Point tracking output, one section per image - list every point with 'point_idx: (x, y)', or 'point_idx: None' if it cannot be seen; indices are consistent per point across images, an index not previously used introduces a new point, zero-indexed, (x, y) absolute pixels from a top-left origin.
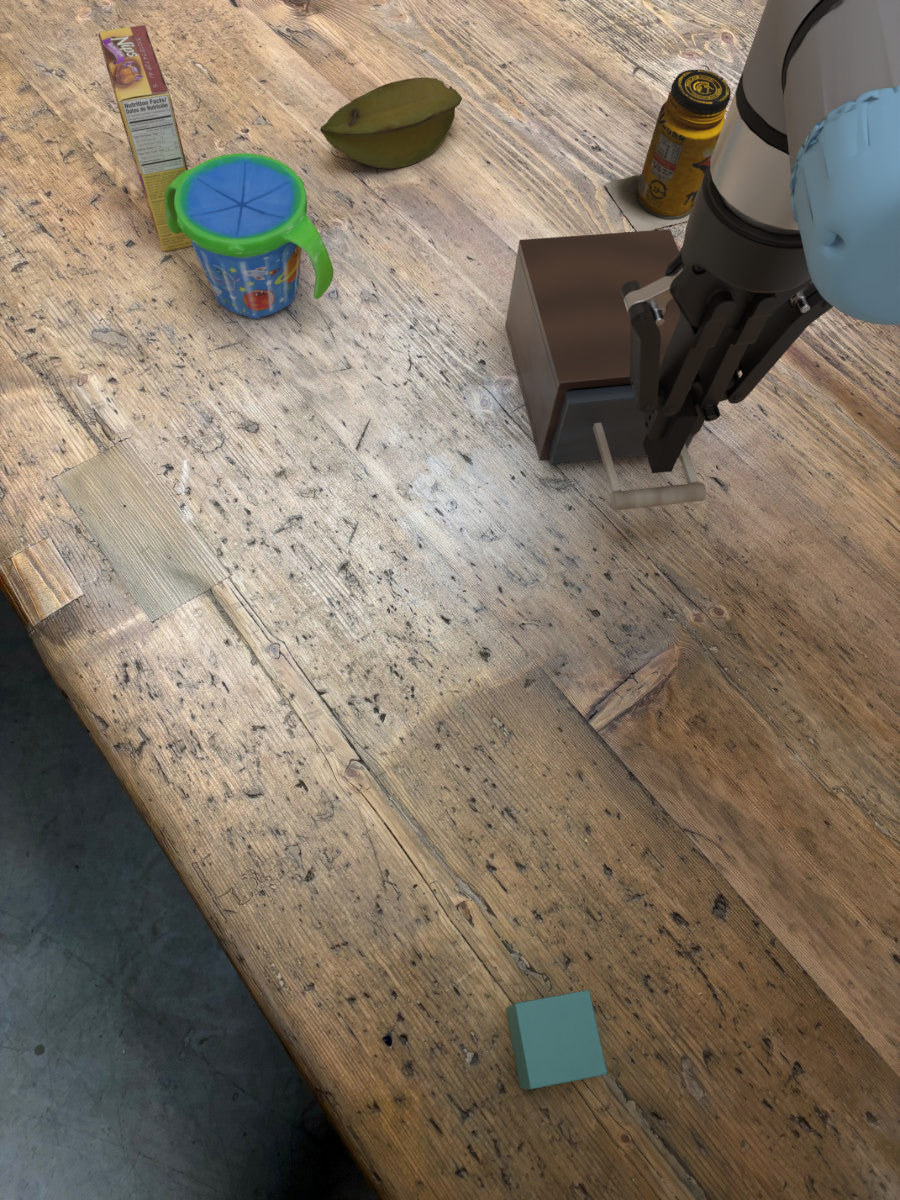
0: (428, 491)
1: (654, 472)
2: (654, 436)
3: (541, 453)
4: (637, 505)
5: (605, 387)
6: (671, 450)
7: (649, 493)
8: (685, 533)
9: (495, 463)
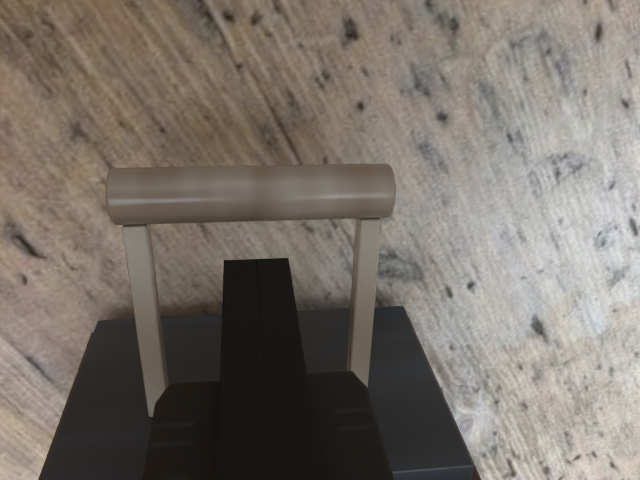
0: (632, 269)
1: (281, 260)
2: (339, 384)
3: (414, 331)
4: (327, 169)
5: None
6: (263, 328)
7: (291, 200)
8: (131, 122)
9: (491, 316)
